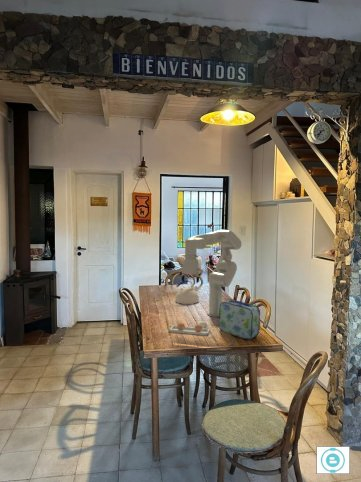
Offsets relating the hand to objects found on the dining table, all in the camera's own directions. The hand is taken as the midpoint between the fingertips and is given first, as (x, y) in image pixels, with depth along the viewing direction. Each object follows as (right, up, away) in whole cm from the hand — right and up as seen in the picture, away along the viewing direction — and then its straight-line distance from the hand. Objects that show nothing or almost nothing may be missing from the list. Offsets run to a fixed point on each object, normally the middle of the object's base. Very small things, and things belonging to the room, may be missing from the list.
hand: (190, 282), depth 225 cm
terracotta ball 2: (+4, -29, -18) cm, 34 cm away
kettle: (-1, -24, +61) cm, 66 cm away
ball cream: (+8, -29, -10) cm, 32 cm away
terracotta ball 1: (-6, -29, -15) cm, 33 cm away
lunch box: (+30, -30, -19) cm, 46 cm away
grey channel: (-1, -30, -17) cm, 34 cm away
